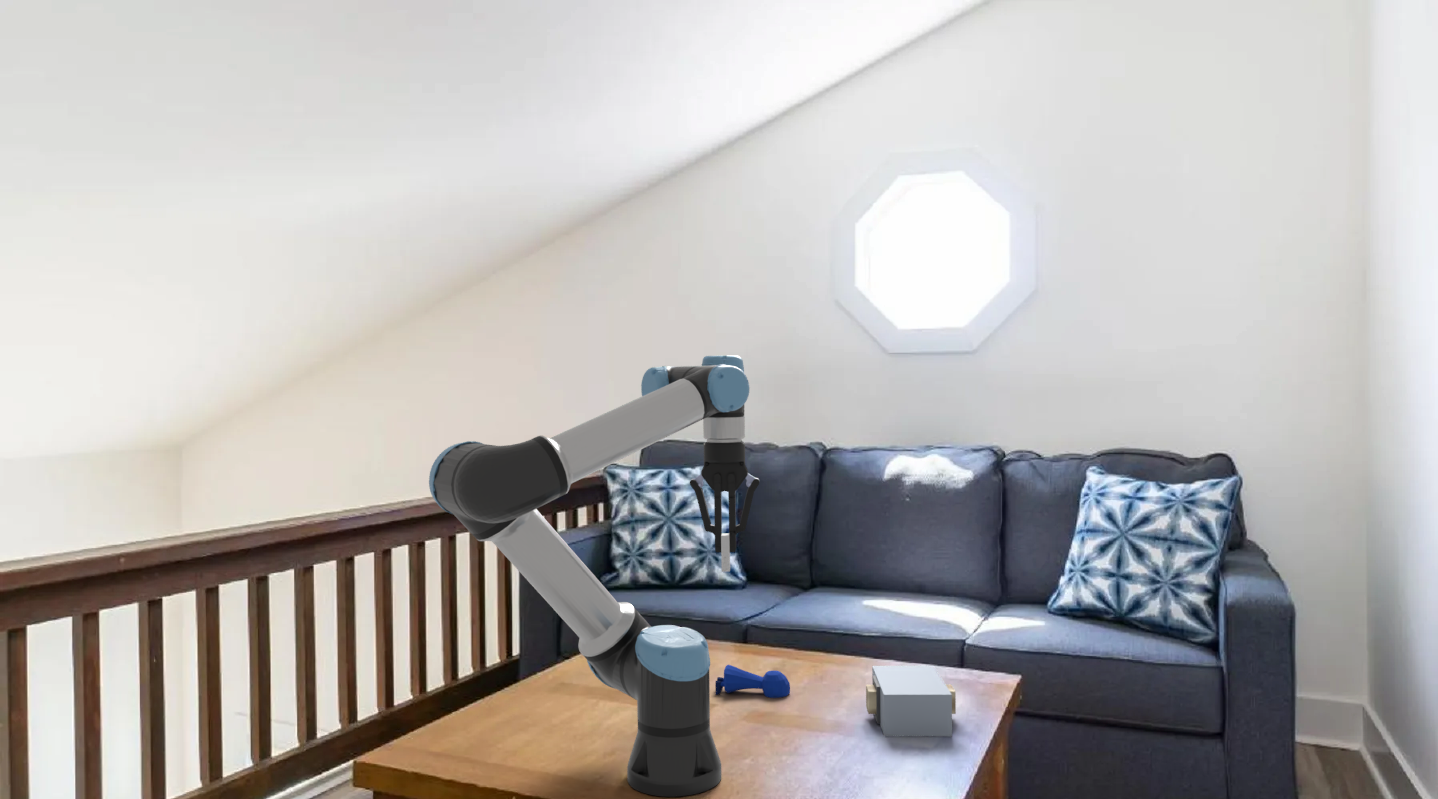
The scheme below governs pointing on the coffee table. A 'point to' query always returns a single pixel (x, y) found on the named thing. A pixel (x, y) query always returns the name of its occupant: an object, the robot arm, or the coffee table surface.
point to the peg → (872, 699)
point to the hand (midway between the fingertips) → (725, 570)
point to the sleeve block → (912, 701)
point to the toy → (753, 682)
